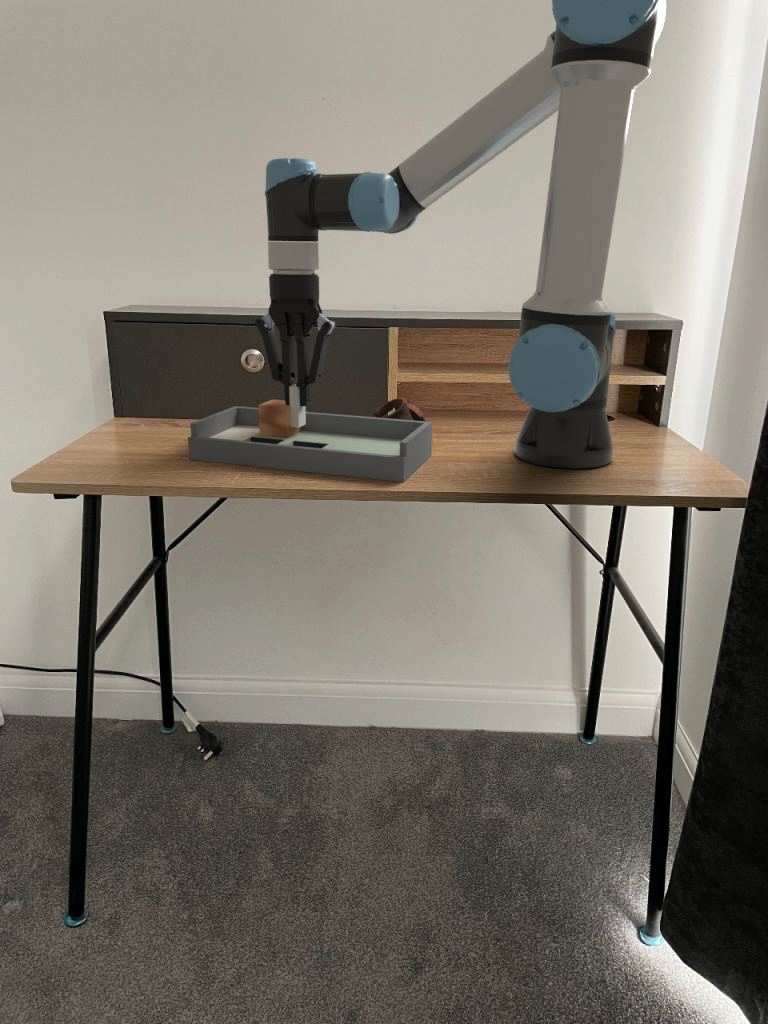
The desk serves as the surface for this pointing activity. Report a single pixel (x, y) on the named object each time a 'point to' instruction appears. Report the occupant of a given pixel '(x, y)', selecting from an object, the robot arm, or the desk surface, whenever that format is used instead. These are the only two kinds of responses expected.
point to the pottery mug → (400, 410)
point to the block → (276, 420)
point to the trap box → (316, 444)
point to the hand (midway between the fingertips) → (298, 425)
